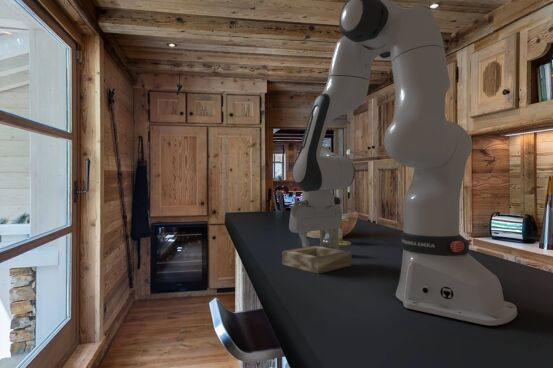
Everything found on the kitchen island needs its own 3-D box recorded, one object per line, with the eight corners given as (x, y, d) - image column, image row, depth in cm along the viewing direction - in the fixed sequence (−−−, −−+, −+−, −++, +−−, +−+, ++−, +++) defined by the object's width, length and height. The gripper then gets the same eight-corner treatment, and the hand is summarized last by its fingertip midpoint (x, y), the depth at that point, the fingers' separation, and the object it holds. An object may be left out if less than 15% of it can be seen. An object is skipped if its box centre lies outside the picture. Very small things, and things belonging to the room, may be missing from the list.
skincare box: (339, 253, 125) (339, 219, 125) (338, 256, 121) (338, 220, 121) (320, 253, 126) (320, 219, 126) (319, 255, 122) (319, 220, 122)
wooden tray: (351, 265, 107) (351, 252, 107) (317, 273, 97) (317, 259, 97) (315, 257, 119) (315, 245, 119) (282, 264, 109) (282, 251, 109)
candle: (323, 242, 149) (323, 178, 149) (344, 241, 152) (344, 178, 152) (333, 246, 140) (333, 178, 140) (356, 245, 143) (356, 178, 143)
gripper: (299, 201, 99) (299, 250, 99) (345, 199, 112) (345, 242, 112) (284, 200, 104) (284, 247, 104) (330, 198, 117) (330, 240, 117)
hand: (316, 245), depth 108 cm, fingers open, 8 cm apart
